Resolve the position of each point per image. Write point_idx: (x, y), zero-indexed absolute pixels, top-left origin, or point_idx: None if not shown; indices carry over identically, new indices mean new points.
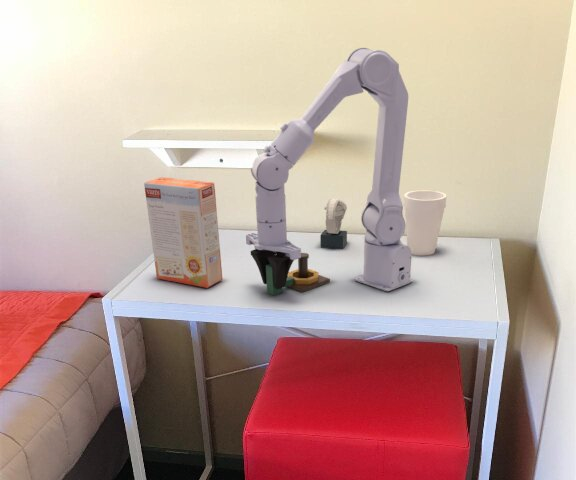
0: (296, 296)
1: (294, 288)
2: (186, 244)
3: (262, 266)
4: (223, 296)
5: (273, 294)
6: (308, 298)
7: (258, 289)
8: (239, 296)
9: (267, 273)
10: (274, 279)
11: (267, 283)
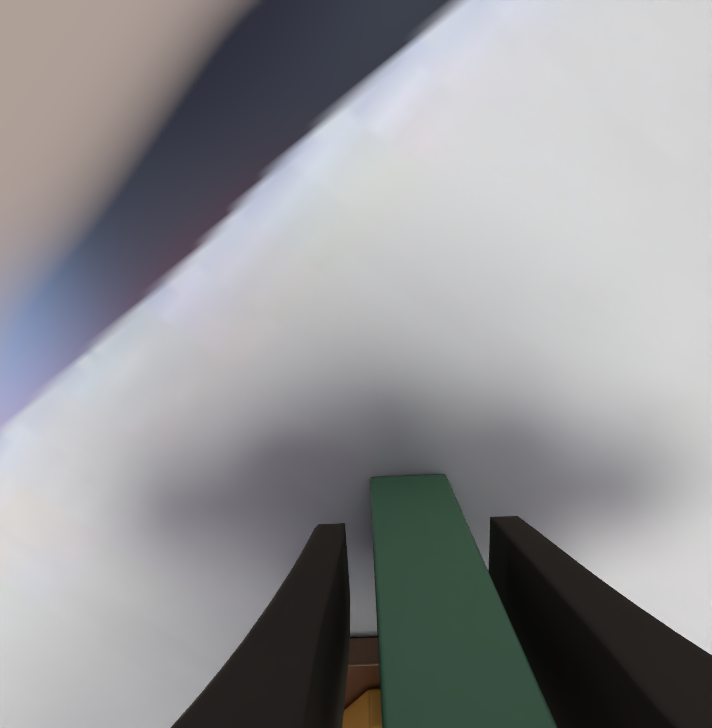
0: (248, 578)
1: (356, 645)
2: None
3: (626, 701)
4: (677, 154)
5: (370, 482)
6: (167, 609)
7: (555, 470)
8: (561, 269)
9: (478, 622)
10: (321, 584)
11: (453, 526)
